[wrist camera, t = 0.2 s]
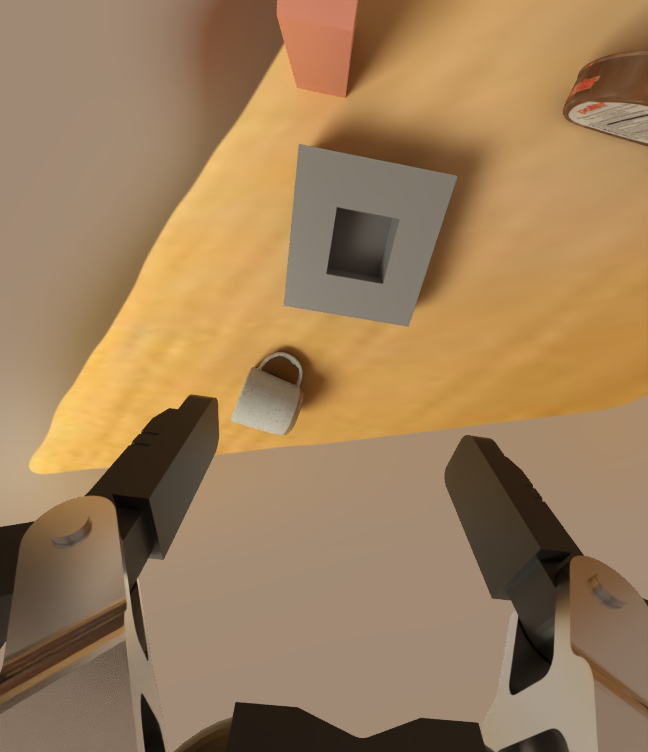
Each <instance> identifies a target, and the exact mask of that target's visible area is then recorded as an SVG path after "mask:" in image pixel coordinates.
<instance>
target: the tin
mask: <svg viewBox="0 0 648 752" xmlns="http://www.w3.org/2000/svg"><path fill="white" fill-rule="evenodd" d="M563 115H564V117H565V118H566V119H567V120H568V121H570V122H572V123H574V124H576V125H579V126H582V127H585V128H588V129H592V130H595V131H598V132H601V133H604V134H607V135H611V136H614V137H617V138H621V139H624V140H628V141H631V142H635V143H638V144H642V145H646V146H648V50H640V51H630V52H624V53H617V54H613V55H610V56H606V57H602V58H600V59H597V60H595V61H593V62H591V63H589V64H587V65H586V66H585V67H583V68H582V69H581V71H580V72H579V74H578V78H577V81H576V83H575V85H574V87H573V89H572V91H571V93H570V95H569V97H568V99H567V101H566V103H565V106H564V109H563Z"/></svg>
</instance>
